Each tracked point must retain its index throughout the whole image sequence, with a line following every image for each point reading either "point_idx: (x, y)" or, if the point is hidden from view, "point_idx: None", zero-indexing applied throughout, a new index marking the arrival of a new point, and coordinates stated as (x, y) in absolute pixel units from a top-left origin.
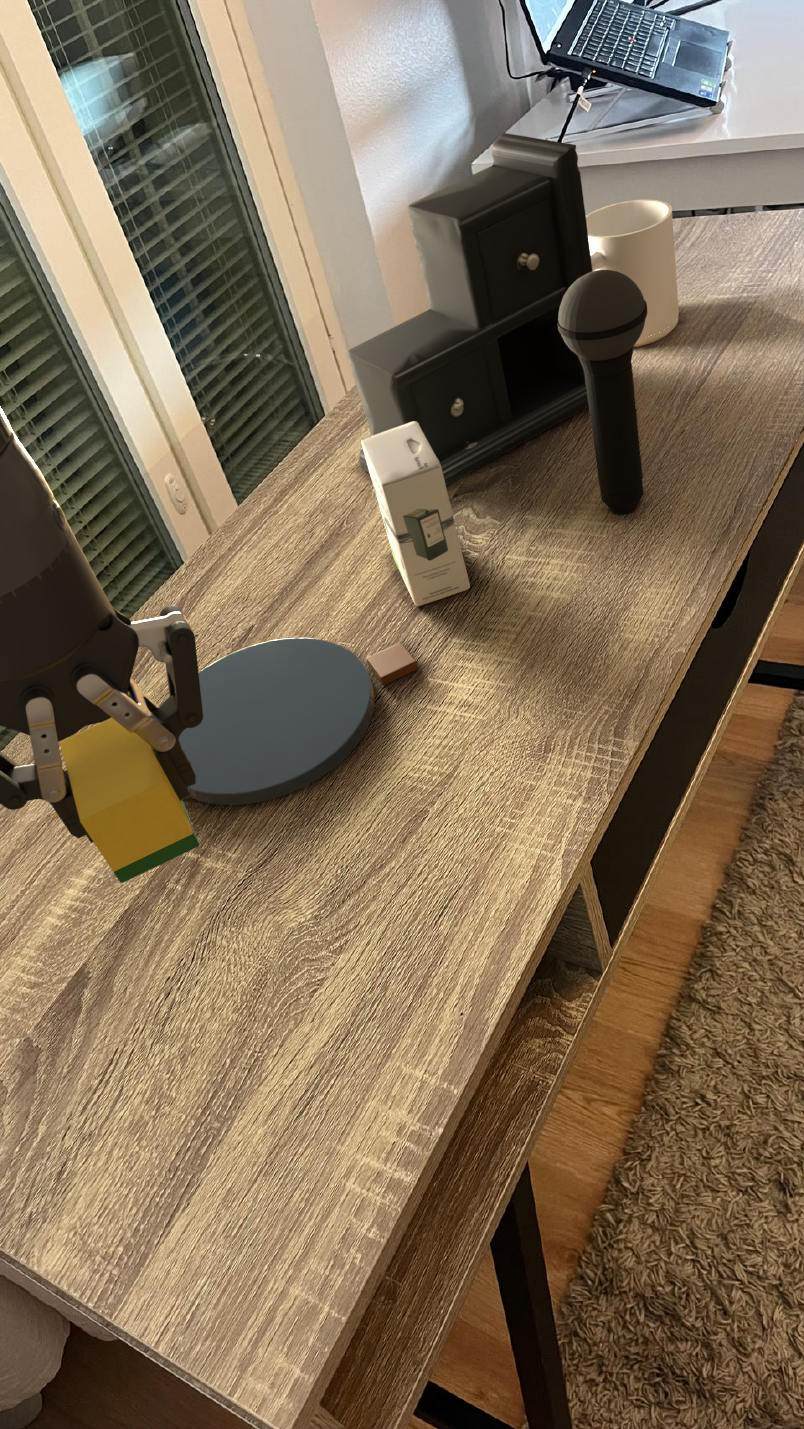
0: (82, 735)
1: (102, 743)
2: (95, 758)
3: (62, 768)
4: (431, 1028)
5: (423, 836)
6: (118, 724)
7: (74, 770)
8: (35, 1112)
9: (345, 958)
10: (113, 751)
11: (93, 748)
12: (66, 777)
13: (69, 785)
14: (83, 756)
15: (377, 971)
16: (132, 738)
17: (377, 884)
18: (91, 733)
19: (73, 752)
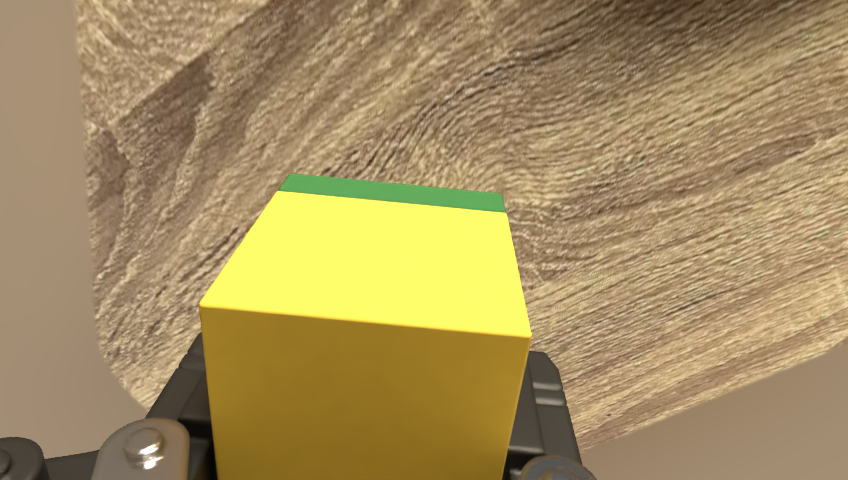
0: (292, 340)
1: (354, 422)
2: (315, 464)
3: (198, 466)
4: (573, 410)
5: (767, 183)
6: (435, 377)
7: (238, 464)
8: (121, 246)
9: (549, 289)
10: (378, 473)
11: (318, 420)
12: (209, 468)
13: (215, 478)
14: (278, 430)
15: (569, 326)
16: (454, 466)
17: (655, 216)
18: (328, 349)
19: (246, 395)
